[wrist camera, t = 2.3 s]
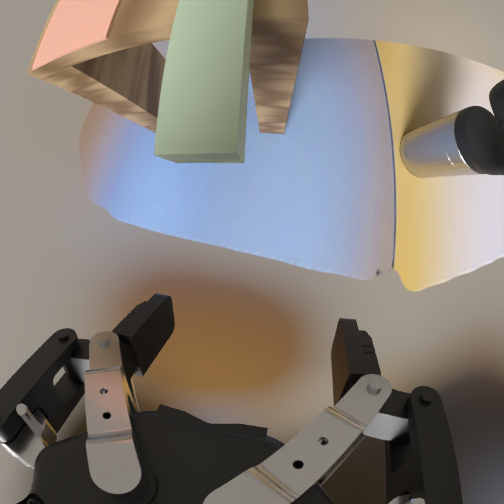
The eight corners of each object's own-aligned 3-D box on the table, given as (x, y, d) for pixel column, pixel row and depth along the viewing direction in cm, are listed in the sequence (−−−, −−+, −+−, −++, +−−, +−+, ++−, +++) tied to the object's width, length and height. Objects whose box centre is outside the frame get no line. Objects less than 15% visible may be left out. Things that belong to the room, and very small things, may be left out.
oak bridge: (285, 82, 40) (301, -56, 9) (283, 133, 42) (308, 19, 11) (164, 85, 42) (60, -7, 10) (158, 134, 44) (27, 73, 12)
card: (140, -41, 10) (138, -42, 10) (107, 39, 12) (105, 37, 11) (67, -11, 10) (66, -12, 10) (33, 70, 12) (31, 69, 12)
